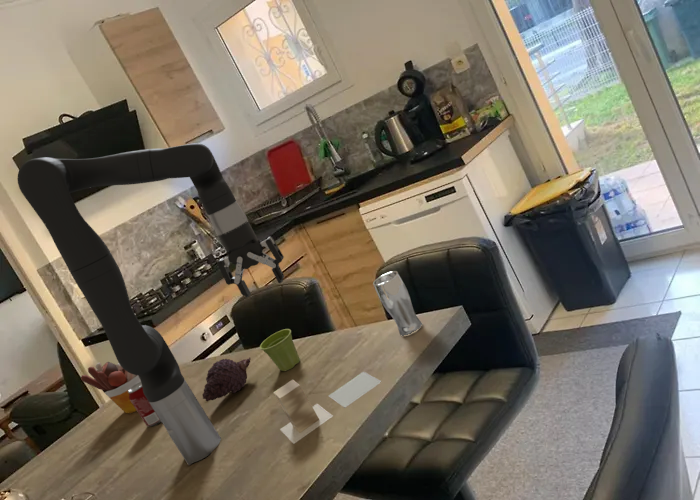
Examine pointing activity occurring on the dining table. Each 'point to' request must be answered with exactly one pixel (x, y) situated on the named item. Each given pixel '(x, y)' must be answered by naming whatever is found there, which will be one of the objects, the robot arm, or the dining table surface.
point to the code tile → (296, 436)
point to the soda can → (143, 405)
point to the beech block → (296, 406)
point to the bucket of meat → (113, 383)
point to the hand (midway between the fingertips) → (265, 288)
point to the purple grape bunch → (225, 378)
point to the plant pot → (281, 349)
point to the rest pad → (354, 389)
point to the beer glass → (397, 302)
